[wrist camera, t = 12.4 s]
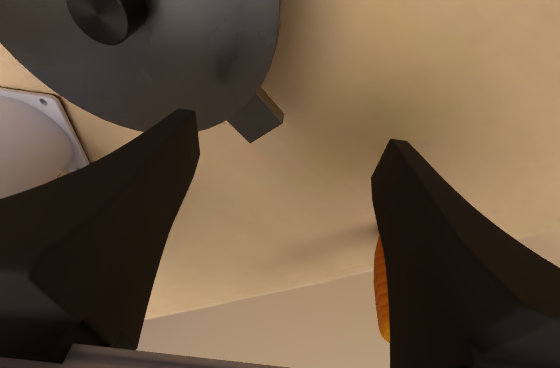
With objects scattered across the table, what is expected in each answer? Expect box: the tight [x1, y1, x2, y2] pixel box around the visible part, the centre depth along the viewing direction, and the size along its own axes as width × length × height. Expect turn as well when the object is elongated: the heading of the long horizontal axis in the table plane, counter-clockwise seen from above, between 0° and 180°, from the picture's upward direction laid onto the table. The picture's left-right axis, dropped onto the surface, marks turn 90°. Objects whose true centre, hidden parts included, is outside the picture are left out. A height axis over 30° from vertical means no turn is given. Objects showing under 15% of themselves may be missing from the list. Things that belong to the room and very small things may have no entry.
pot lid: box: [0, 0, 282, 132], centre depth 11 cm, size 12×12×2 cm
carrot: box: [374, 235, 390, 343], centre depth 25 cm, size 5×5×15 cm
